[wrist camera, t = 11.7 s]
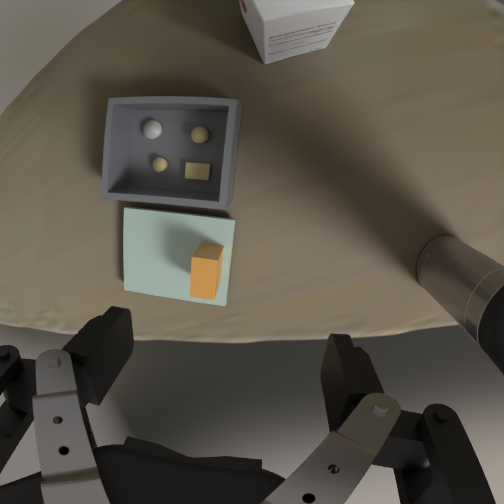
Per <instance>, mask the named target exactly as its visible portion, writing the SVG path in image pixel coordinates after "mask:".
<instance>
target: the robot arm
mask: <svg viewBox="0 0 504 504" xmlns="http://www.w3.org/2000/svg"><path fill="white" fill-rule="evenodd" d="M417 277H418V281H419V283H420V284H421V286H422V287H423V288H424V289H425V290H426V291H427V292H428V293H429V294H430V295H431V296H432V297H433V298H434V299H435V300H436V301H437V302H438V303H439V304H440V305H441V306H442V307H443V308H444V309H445V310H446V311H447V312H448V313H449V314H450V315H451V316H452V317H453V318H454V319H455V320H456V321H457V322H458V324H459V325H461V327H462V328H463V329H464V330H465V331H466V332H467V333H468V334H469V335H470V336H471V337H472V338H473V339H474V340H475V342H476V343H477V344H478V345H479V346H480V347H481V348H482V349H483V351H484V352H485V353H486V354H487V355H488V356H489V357H490V359H491V360H492V361H493V362H494V364H495V365H496V366H497V367H498V368H499V370H500V371H501V372H502V373H503V375H504V266H503V265H501V264H500V263H498V262H496V261H495V260H493V259H491V258H489V257H488V256H486V255H484V254H483V253H481V252H479V251H477V250H476V249H474V248H472V247H470V246H469V245H467V244H465V243H463V242H462V241H460V240H458V239H456V238H454V237H452V236H448V235H444V236H439V237H436V238H435V239H433V240H431V241H430V242H429V243H428V244H427V245H426V246H425V248H424V249H423V250H422V252H421V254H420V256H419V259H418V262H417ZM133 347H134V338H133V329H132V319H131V312H130V310H129V309H126V308H120V307H115V306H111V307H110V308H109V309H108V310H107V311H106V312H105V313H104V314H103V315H102V316H101V315H99V316H97V317H95V318H93V319H91V320H89V321H88V322H87V324H86V325H85V326H84V327H83V328H82V329H81V330H80V331H79V332H78V334H76V335H75V336H74V337H73V338H72V339H71V340H70V341H69V342H68V343H67V344H66V345H65V346H64V347H63V348H62V350H60V349H51V350H48V351H45V352H43V353H41V354H40V355H39V356H38V357H37V359H36V360H32V359H22V358H21V356H20V353H19V351H18V349H17V348H16V347H14V346H11V345H3V346H0V395H1V394H2V392H3V394H4V397H5V399H6V401H5V402H4V403H3V404H2V405H1V407H0V473H1V471H2V470H3V468H4V466H5V464H6V463H7V461H8V460H9V458H10V456H11V455H12V453H13V452H14V450H15V448H16V447H17V445H18V444H19V442H20V440H21V439H22V437H23V436H24V434H25V433H26V431H27V429H28V428H29V426H30V425H31V423H32V422H33V420H34V425H35V434H36V442H37V448H38V456H39V461H40V467H41V471H40V472H37V473H35V474H32V475H29V476H27V477H24V478H21V479H19V480H16V481H13V482H10V483H8V484H5V485H2V486H0V504H344V503H345V502H346V500H347V499H348V498H349V496H350V495H351V494H352V492H353V491H354V489H355V488H356V486H357V485H358V484H359V482H360V481H361V479H362V477H363V476H364V475H365V473H366V472H367V470H368V469H369V467H370V466H371V464H373V465H378V466H383V467H390V468H393V469H394V474H395V479H396V483H397V488H398V493H399V498H400V503H401V504H496V503H495V500H494V497H493V495H492V492H491V489H490V487H489V484H488V482H487V479H486V477H485V474H484V472H483V470H482V467H481V465H480V463H479V460H478V458H477V456H476V454H475V451H474V449H473V447H472V444H471V442H470V440H469V438H468V436H467V434H466V432H465V429H464V427H463V425H462V423H461V421H460V419H459V417H458V415H457V414H456V412H455V411H454V410H453V409H451V408H450V407H448V406H446V405H443V404H431V405H429V406H427V407H426V408H425V410H424V411H423V413H422V414H419V413H414V412H408V411H403V410H401V407H400V405H399V403H398V402H397V401H396V400H395V399H394V398H392V397H391V396H389V395H386V394H384V391H383V388H382V386H381V383H380V381H379V379H378V376H377V374H376V372H375V369H374V367H373V365H372V362H371V360H370V357H369V355H368V354H367V353H366V352H365V351H364V350H363V349H362V348H361V347H354V345H353V343H352V340H351V337H350V335H348V334H330V335H329V338H328V342H327V346H326V350H325V354H324V358H323V362H322V367H321V384H322V390H323V395H324V400H325V406H326V412H327V418H328V424H329V430H330V433H329V435H328V436H327V437H326V438H325V439H324V440H323V441H322V443H321V444H320V445H319V446H318V447H317V448H316V449H315V450H314V451H313V452H312V454H311V455H309V457H308V458H307V459H306V460H305V461H304V462H303V463H302V464H301V465H300V466H299V467H298V468H297V469H296V470H295V471H294V472H293V473H292V474H291V475H290V476H289V477H288V478H287V479H285V478H283V477H281V476H279V475H277V474H275V473H273V472H270V471H268V470H264V469H262V460H261V459H249V458H238V457H229V456H222V457H200V458H192V457H187V456H185V455H182V454H180V453H178V452H175V451H173V450H171V449H168V448H166V447H164V446H162V445H159V444H156V443H152V442H148V441H144V440H140V439H136V438H132V437H129V436H127V438H126V440H125V443H124V445H121V444H120V445H106V446H101V447H97V444H96V441H95V438H94V434H93V431H92V428H91V425H90V421H89V417H88V414H87V410H86V408H85V407H86V405H87V404H88V402H89V403H92V404H95V405H98V406H99V405H100V403H101V402H102V400H103V398H104V397H105V395H106V394H107V392H108V390H109V389H110V387H111V386H112V384H113V383H114V381H115V379H116V378H117V376H118V375H119V373H120V371H121V370H122V368H123V367H124V365H125V364H126V362H127V361H128V359H129V358H130V356H131V354H132V351H133Z"/></svg>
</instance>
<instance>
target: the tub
mask: <svg viewBox="0 0 504 504" xmlns="http://www.w3.org/2000/svg"><path fill="white" fill-rule="evenodd" d="M241 116H242V107H241V105H240V103H239V101H238V99H228V98H211V97H183V96H148V97H120V98H109V99H108V107H107V116H106V125H105V136H104V150H103V167H102V197H101V199H110V200H123V201H136V202H148V203H159V204H170V205H181V206H192V207H202V208H211V209H221V210H226V209H227V207H228V206H229V205H230V203H231V202H232V199H233V189H234V179H235V170H236V160H237V151H238V142H239V133H240V124H241Z"/></svg>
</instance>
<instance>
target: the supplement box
mask: <svg viewBox="0 0 504 504" xmlns="http://www.w3.org/2000/svg"><path fill="white" fill-rule="evenodd" d="M239 3H240V8H241V13H242V16H243V18H244V20H245V23H246V25H247V27H248V29H249V32H250V34H251V36H252V38H253V41H254V43H255V45H256V47H257V50H258V52H259V54H260V57H261V59H262V61H263V63H264V64H269V63H273V62H276V61H279V60H282V59H286V58H289V57H293V56H296V55H300V54H304V53H308V52H312V51H316V50H320V49H324V48H326V47H327V45H328V43H329V42H330V40H331V39H332V37H333V35H334V34H335V32H336V31H337V29H338V27H339V26H340V24H341V23H342V21H343V20H344V18H345V16H346V15H347V13H348V12H349V10H350V9H351V7H352V6H353V5H354V3H355V2H354V0H239Z"/></svg>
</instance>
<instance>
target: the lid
mask: <svg viewBox="0 0 504 504" xmlns="http://www.w3.org/2000/svg"><path fill="white" fill-rule="evenodd" d="M235 220H236V219H232V218H224V217H216V216H208V215H200V214H191V213H182V212H173V211H164V210H155V209H146V208H136V207H125V208H124V229H123V259H124V290H128V291H134V292H139V293H145V294H150V295H156V296H162V297H168V298H174V299H180V300H187V301H193V302H200V303H206V304H213V305H220V306H226V303H227V293H228V284H229V274H230V265H231V256H232V247H233V238H234V229H235Z"/></svg>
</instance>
